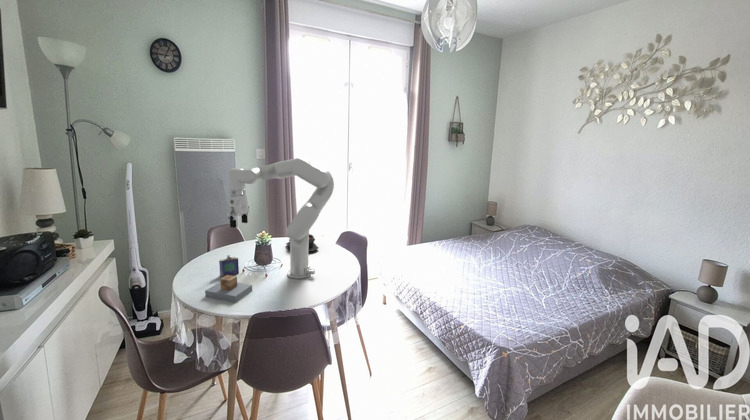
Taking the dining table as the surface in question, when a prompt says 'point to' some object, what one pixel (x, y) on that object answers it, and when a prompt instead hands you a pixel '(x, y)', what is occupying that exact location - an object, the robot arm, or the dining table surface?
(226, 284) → the walnut cube
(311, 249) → the casserole
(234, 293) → the block
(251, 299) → the dining table surface
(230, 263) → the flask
